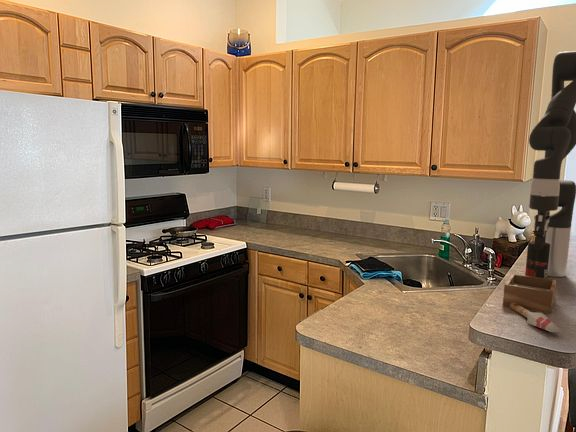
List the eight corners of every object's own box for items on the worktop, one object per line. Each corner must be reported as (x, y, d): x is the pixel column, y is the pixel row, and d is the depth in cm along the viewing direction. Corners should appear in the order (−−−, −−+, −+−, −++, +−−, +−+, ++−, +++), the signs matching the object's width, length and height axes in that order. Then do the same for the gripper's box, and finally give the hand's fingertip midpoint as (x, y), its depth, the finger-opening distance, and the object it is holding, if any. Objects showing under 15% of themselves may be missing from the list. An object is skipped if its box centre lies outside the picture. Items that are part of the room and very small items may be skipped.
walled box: (510, 292, 136) (512, 273, 135) (554, 300, 129) (556, 280, 128) (502, 305, 124) (504, 284, 123) (550, 314, 118) (552, 292, 117)
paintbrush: (549, 325, 102) (506, 300, 122) (548, 337, 102) (506, 310, 122) (565, 325, 102) (520, 300, 122) (565, 337, 102) (520, 310, 122)
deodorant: (526, 286, 142) (530, 240, 140) (547, 290, 138) (552, 243, 136) (521, 290, 138) (526, 243, 135) (543, 294, 134) (548, 246, 132)
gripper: (532, 192, 142) (528, 242, 144) (527, 194, 130) (522, 248, 132) (560, 193, 137) (555, 244, 140) (557, 196, 126) (552, 252, 128)
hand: (539, 246), depth 136 cm, fingers open, 8 cm apart
